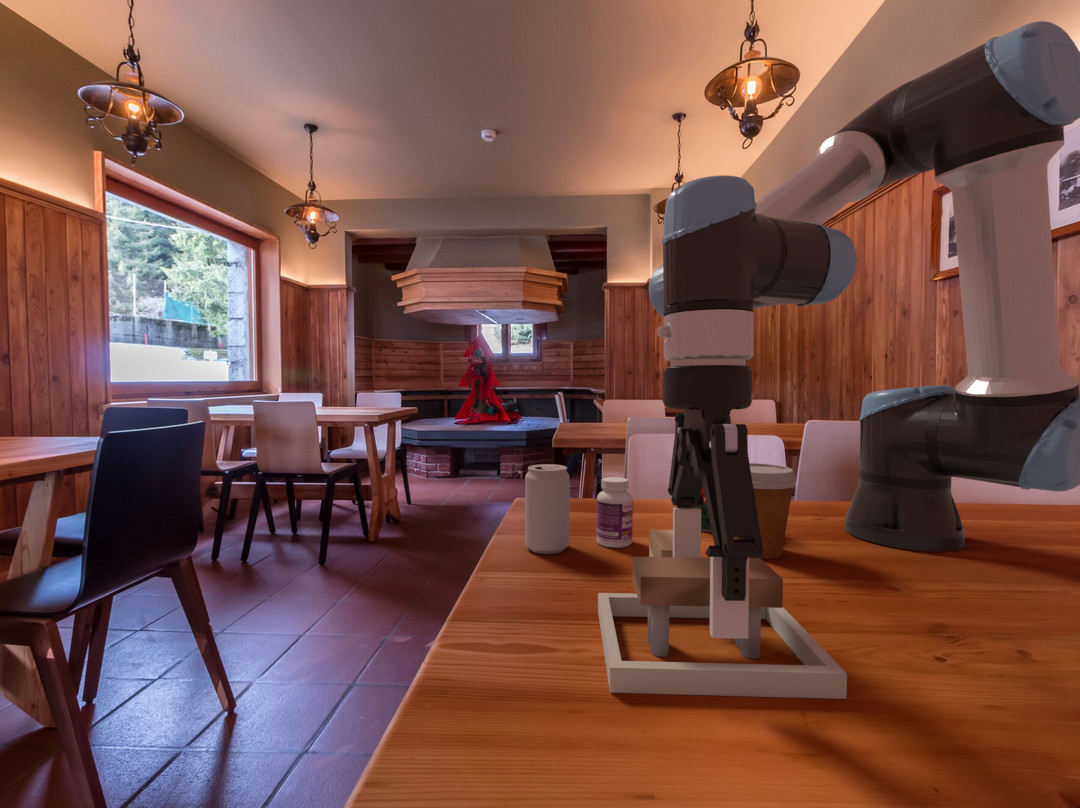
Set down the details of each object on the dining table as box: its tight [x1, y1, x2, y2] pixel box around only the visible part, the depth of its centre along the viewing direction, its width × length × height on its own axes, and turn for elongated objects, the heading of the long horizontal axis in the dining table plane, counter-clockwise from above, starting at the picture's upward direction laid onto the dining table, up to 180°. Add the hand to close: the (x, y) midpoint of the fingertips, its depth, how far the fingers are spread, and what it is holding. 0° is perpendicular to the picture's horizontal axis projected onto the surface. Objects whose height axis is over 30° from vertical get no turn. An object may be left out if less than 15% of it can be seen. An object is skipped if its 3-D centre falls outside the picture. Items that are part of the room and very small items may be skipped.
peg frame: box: [597, 592, 848, 700], centre depth 46 cm, size 18×14×5 cm
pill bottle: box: [596, 476, 634, 549], centre depth 76 cm, size 5×5×10 cm
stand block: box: [648, 529, 673, 557], centre depth 62 cm, size 3×8×5 cm, turn 177°
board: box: [632, 556, 784, 608], centre depth 46 cm, size 12×5×2 cm, turn 87°
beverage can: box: [524, 463, 571, 555], centre depth 74 cm, size 6×6×12 cm
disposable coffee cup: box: [734, 462, 798, 560], centre depth 72 cm, size 10×10×12 cm
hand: (704, 598), depth 46 cm, fingers open, 13 cm apart
